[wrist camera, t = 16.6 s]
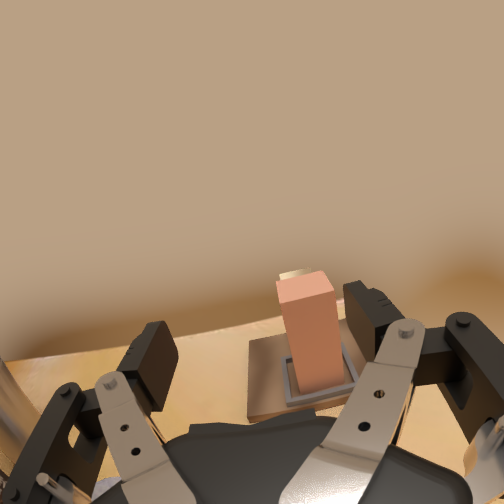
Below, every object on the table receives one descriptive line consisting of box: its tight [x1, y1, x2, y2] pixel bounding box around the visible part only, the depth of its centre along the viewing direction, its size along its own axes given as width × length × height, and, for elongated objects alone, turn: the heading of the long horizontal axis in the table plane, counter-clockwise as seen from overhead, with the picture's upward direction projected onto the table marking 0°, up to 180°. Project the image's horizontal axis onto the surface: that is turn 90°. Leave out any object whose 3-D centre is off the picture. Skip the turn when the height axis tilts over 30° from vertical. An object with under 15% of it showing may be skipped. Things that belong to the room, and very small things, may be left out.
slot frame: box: [281, 342, 359, 408], centre depth 31 cm, size 8×8×1 cm
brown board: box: [247, 318, 367, 423], centre depth 34 cm, size 15×15×1 cm
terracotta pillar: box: [276, 271, 344, 395], centre depth 29 cm, size 5×5×12 cm
